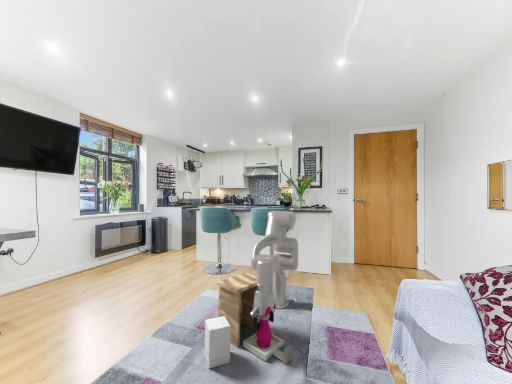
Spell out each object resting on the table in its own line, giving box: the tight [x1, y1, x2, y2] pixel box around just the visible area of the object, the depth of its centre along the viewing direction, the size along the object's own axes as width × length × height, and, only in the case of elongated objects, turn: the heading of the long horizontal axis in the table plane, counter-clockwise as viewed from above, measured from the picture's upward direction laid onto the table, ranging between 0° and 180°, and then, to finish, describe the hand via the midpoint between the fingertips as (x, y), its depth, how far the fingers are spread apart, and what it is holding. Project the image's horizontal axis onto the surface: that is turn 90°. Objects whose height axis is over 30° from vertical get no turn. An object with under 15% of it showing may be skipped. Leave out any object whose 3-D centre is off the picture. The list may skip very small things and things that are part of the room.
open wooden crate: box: [217, 272, 260, 349], centre depth 112 cm, size 19×14×26 cm
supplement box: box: [204, 316, 231, 369], centre depth 94 cm, size 9×9×15 cm
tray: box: [242, 332, 293, 365], centre depth 99 cm, size 13×20×5 cm, turn 48°
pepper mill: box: [255, 307, 273, 348], centre depth 102 cm, size 7×7×20 cm
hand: (263, 325), depth 102 cm, fingers open, 9 cm apart
